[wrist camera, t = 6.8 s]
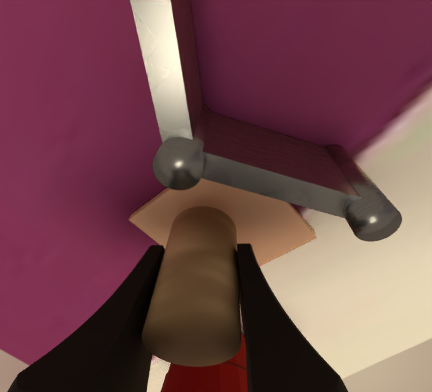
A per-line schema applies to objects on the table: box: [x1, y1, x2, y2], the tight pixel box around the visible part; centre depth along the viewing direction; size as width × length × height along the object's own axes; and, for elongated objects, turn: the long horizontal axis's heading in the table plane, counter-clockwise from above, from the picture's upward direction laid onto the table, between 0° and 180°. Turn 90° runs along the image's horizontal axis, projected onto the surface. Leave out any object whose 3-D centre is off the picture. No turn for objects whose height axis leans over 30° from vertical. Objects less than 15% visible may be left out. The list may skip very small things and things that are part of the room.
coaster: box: [129, 178, 316, 266], centre depth 16 cm, size 8×8×1 cm
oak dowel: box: [142, 206, 241, 367], centre depth 12 cm, size 4×4×6 cm
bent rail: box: [130, 0, 402, 241], centre depth 10 cm, size 14×6×5 cm, turn 39°
